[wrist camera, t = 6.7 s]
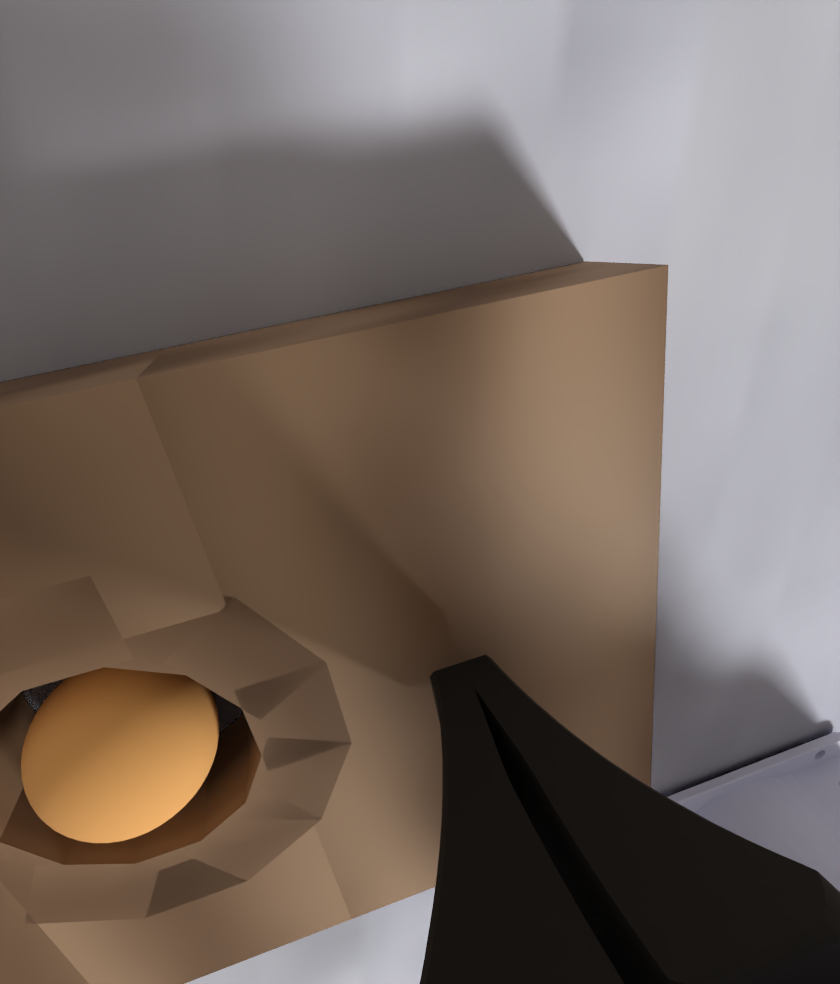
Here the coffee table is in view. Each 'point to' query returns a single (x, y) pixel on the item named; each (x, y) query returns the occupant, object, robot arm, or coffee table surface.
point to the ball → (118, 752)
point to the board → (324, 593)
